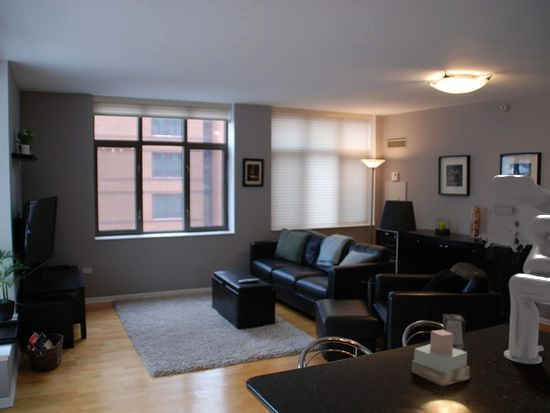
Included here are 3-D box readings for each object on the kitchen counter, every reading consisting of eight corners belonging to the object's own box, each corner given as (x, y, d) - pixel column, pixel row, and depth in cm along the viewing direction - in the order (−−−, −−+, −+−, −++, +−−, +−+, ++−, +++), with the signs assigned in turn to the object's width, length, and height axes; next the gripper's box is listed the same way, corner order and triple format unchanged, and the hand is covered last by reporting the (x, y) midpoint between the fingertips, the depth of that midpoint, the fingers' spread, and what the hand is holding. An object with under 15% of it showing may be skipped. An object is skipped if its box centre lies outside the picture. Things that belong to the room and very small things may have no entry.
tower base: (438, 366, 172) (438, 354, 172) (469, 380, 161) (469, 367, 160) (411, 373, 165) (412, 360, 165) (442, 387, 154) (442, 374, 154)
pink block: (441, 346, 166) (442, 329, 166) (452, 351, 161) (453, 334, 161) (430, 348, 164) (431, 331, 164) (440, 353, 159) (441, 335, 159)
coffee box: (463, 366, 172) (465, 321, 171) (444, 364, 173) (446, 319, 172) (459, 357, 181) (461, 314, 180) (441, 355, 182) (443, 313, 181)
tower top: (435, 354, 171) (435, 342, 171) (466, 365, 162) (467, 352, 161) (414, 361, 164) (414, 348, 164) (445, 373, 154) (445, 359, 154)
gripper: (535, 213, 159) (532, 265, 160) (489, 209, 174) (487, 257, 175) (521, 213, 155) (518, 266, 156) (475, 210, 170) (473, 258, 171)
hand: (502, 261), depth 165 cm, fingers open, 9 cm apart
